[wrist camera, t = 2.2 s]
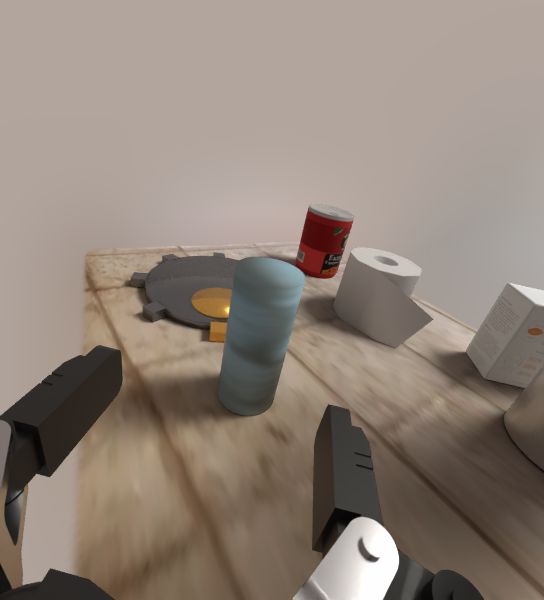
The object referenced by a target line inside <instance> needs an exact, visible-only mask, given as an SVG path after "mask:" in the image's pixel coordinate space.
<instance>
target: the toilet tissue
mask: <svg viewBox="0 0 544 600" xmlns="http://www.w3.org/2000/svg"><path fill="white" fill-rule="evenodd" d="M421 270H422V269H420V268H419V267H418V266H416V265H415V264H414V263H413V262H412V261H410V260H407V259H405V258H403V257H400V256H398V255H396V254H393V253H390V252H386V251H382V250H378V249H373V248H355V249H354V250H353V251H351V252H350V256H349V258H348V261H347V264H346V267H345V270H344V274H343V277H342V280H341V283H340V286H339V289H338V292H337V295H336V298H335V301H334V304H333V308H334V310H335V311H336V313H337V315H338V317H339V318H341V319H342V320H344V321H345V322H347V323H349V324H350V325H352V326H353V327H355V328H356V329H358V330H360V331H361V332H363V333H364V334H366V335H367V336H369V337H371V338H372V339H374V340H376V341H379V342H381V343H384V344H386V345H389V346H391V347H394V348H397V347H398V346H399V345H400V344H402V343H403V342H404V341H406V340H407V339H408V338H410V337H411V336H412V335H414V334H415V333H416V332H417V331H419V330H420V329H421V328H423V327H424V326H425V325H427V324H428V323H429V322H431V321H432V320H433V318H431V317H430V316H429V315H428V314H427V313H426V312H425V311H424V310H423V309H421V308H420V307H419V306H418V305H417V304H416V303H415V302H414V301H412V300H411V299H410V296H411V294H412V291H413V289H414V287H415V285H416V283H417V281H418V278H419V276H420V274H421Z"/></svg>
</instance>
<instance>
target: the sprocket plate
mask: <svg viewBox="0 0 544 600" xmlns="http://www.w3.org/2000/svg"><path fill="white" fill-rule="evenodd" d="M238 261H239V260H235V259H230V258H225V255H224V254H223V253H214V254H213V256H190V257H182V258H179V257H177V256H175V255H173V254H170V255H165V256H162V263H161V264H159V265H157V266H156V267H154V268H153V269H152V270H151V271H150V272H149V273H148V274H147V273H137V272H134V273H133V275H132V277H131V287H141V288H145V294H146V297H147V300H148V301H149V303H150V304H147V305H144V306H143V316H145V317H146V318H148V319H149V320H150V321H152V322H155V321H157V320H160V319H162V318H165V317H167V318H169V319H171V320H174V321H176V322H178V323H181V324H184V325H187V326H191V327H195V328H199V329H205V330H210V338H209V341H218V342H225V337H226V329H227V322H228V315H229V308H230V300H231V293H232V286H233V279H234V272H235V265H236V263H237V262H238Z"/></svg>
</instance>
